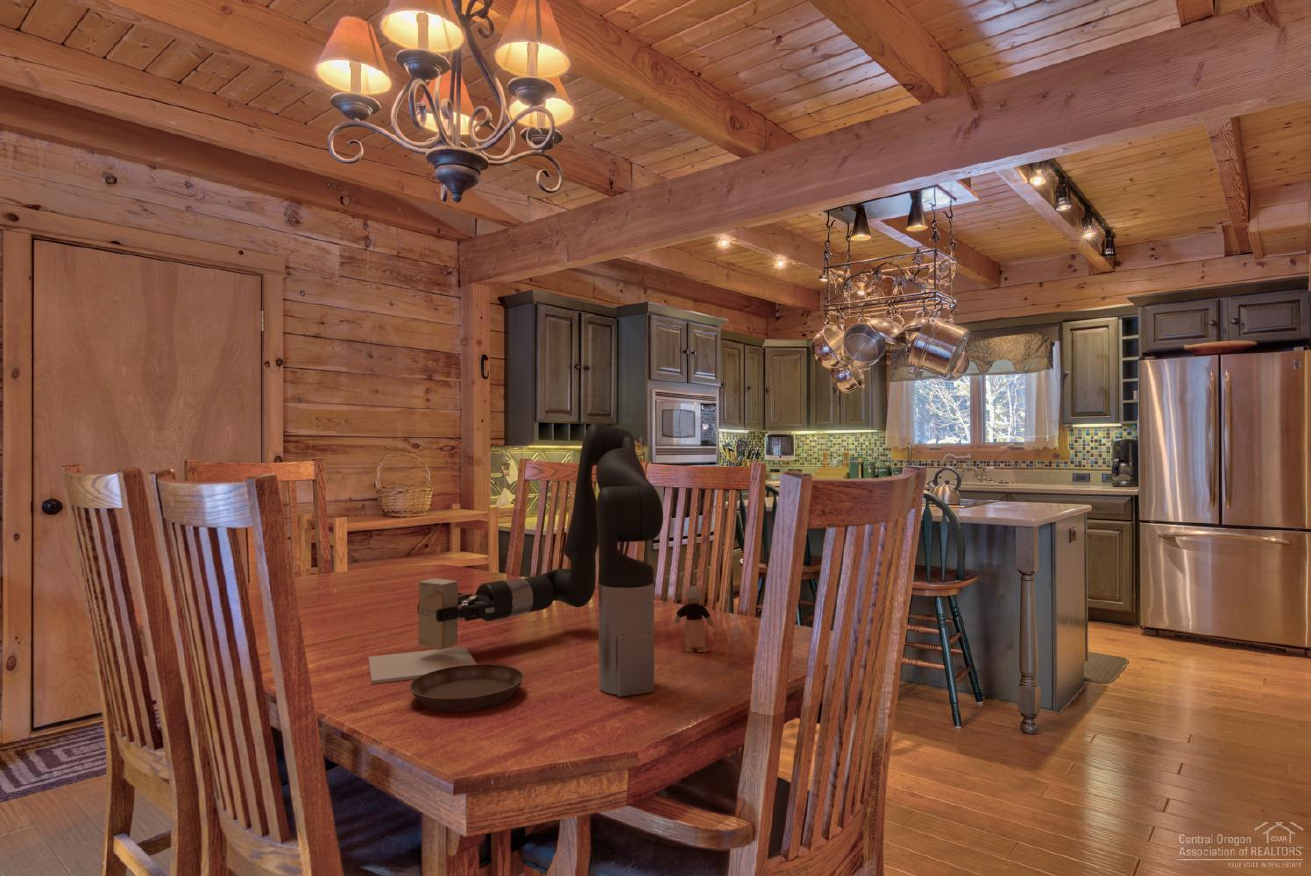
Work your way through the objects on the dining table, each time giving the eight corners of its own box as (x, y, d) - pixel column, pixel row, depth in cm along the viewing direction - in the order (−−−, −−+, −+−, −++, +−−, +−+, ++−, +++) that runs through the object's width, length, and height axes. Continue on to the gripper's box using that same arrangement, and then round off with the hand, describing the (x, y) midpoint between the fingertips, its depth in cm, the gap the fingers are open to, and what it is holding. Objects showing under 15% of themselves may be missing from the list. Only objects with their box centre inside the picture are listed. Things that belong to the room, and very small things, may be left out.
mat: (479, 671, 134) (479, 667, 134) (371, 684, 127) (371, 680, 127) (465, 649, 148) (465, 646, 148) (368, 659, 141) (368, 656, 141)
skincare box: (417, 646, 140) (416, 581, 140) (434, 640, 144) (434, 577, 144) (442, 650, 137) (441, 584, 138) (459, 644, 141) (458, 579, 141)
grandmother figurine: (713, 648, 148) (713, 584, 148) (713, 653, 144) (712, 587, 145) (675, 647, 149) (674, 583, 149) (673, 652, 145) (673, 587, 145)
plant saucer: (406, 722, 109) (406, 701, 109) (412, 686, 126) (412, 668, 126) (528, 710, 114) (528, 690, 114) (518, 677, 131) (518, 660, 131)
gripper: (486, 575, 156) (410, 587, 145) (523, 585, 145) (445, 598, 134) (486, 611, 156) (410, 626, 145) (524, 623, 145) (445, 640, 134)
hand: (427, 612), depth 139 cm, fingers closed on skincare box, 7 cm apart
